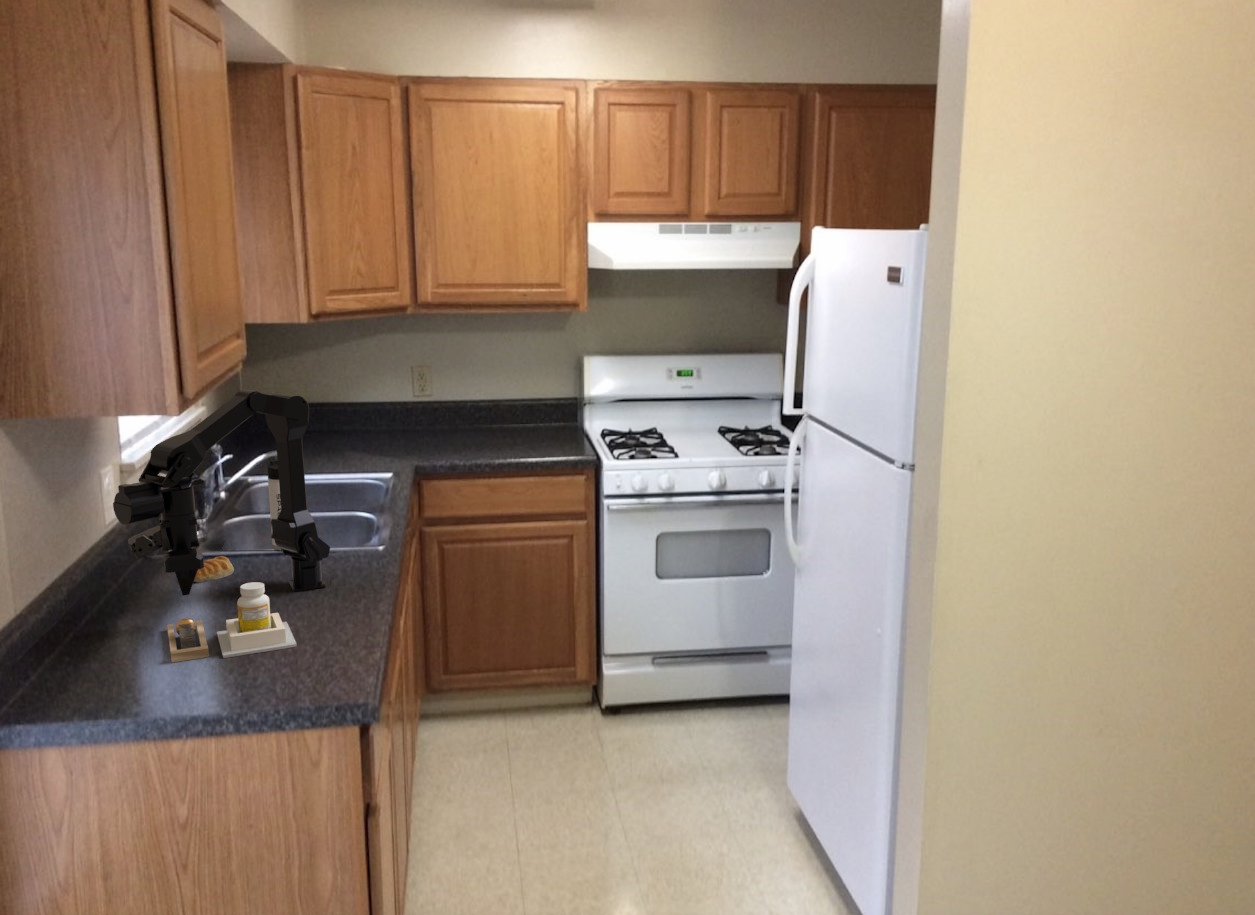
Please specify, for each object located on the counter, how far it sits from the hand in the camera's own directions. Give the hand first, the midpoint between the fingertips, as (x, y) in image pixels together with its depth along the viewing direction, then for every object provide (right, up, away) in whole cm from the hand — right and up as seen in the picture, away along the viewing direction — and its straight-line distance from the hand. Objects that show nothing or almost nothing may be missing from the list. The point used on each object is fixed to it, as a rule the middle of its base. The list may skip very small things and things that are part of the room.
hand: (185, 594), depth 188 cm
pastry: (-7, 0, +28) cm, 29 cm away
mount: (+4, -7, -8) cm, 12 cm away
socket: (+15, -7, -7) cm, 18 cm away
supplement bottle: (+15, -7, -7) cm, 18 cm away
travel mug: (+2, +4, +49) cm, 49 cm away
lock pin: (+4, -7, -8) cm, 12 cm away
